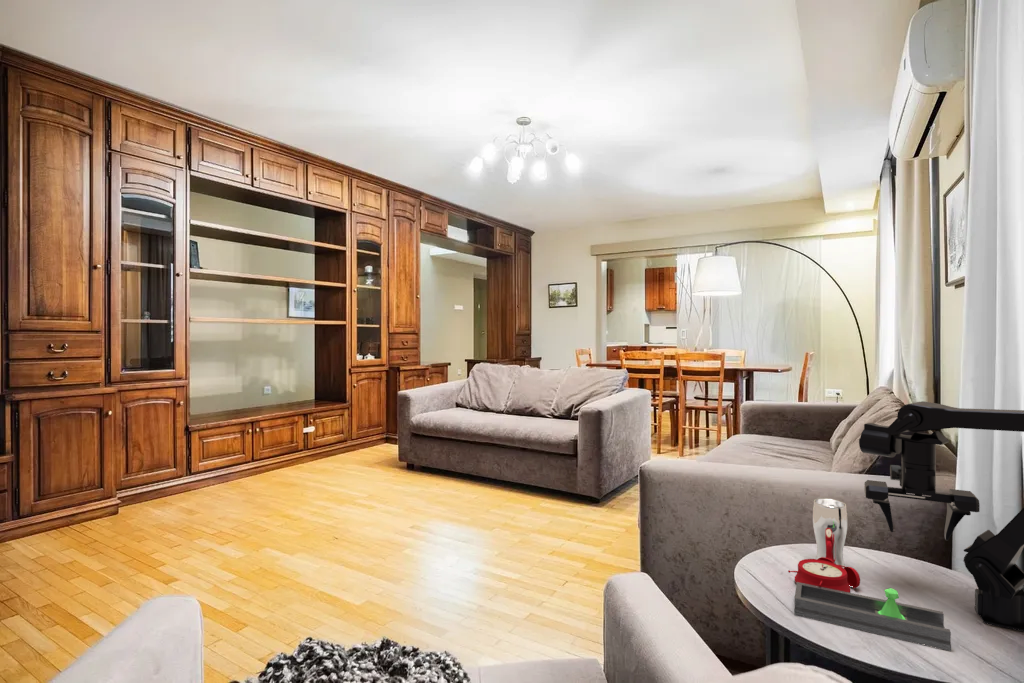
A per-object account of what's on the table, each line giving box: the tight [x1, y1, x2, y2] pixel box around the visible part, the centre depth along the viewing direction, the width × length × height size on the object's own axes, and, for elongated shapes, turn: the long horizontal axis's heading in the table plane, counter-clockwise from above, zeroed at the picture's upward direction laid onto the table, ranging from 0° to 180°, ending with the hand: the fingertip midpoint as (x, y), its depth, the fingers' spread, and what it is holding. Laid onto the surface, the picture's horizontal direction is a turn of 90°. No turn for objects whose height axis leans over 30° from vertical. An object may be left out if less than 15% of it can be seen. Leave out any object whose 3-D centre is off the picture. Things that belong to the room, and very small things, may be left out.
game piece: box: [878, 587, 906, 620], centre depth 99 cm, size 4×4×6 cm
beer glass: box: [812, 497, 848, 568], centre depth 124 cm, size 7×7×15 cm
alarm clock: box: [787, 557, 861, 593], centre depth 115 cm, size 10×6×15 cm
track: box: [794, 582, 952, 652], centre depth 101 cm, size 24×9×3 cm, turn 59°
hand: (918, 535), depth 111 cm, fingers open, 9 cm apart
